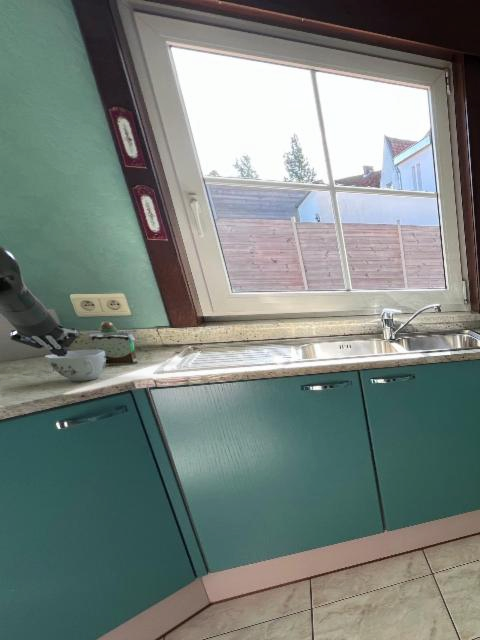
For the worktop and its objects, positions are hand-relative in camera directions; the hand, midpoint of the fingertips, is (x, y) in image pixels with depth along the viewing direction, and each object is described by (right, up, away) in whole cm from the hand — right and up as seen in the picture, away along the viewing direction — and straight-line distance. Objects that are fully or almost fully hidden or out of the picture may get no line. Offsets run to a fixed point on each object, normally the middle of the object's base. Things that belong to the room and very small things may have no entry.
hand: (61, 353), depth 136 cm
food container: (-17, +4, +35) cm, 39 cm away
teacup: (-6, -6, +12) cm, 15 cm away
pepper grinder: (-29, +8, +45) cm, 54 cm away
